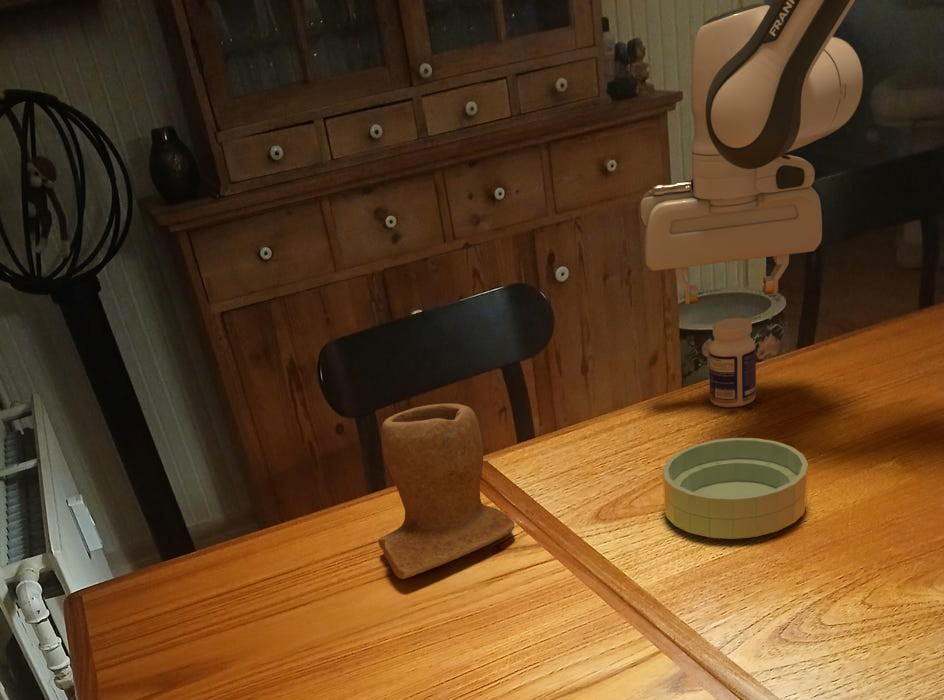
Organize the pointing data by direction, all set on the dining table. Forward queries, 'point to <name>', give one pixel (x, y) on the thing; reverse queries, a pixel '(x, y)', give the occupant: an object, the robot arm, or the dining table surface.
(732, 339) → the pill bottle
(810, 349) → the dining table surface
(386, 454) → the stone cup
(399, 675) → the dining table surface
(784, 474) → the bowl
